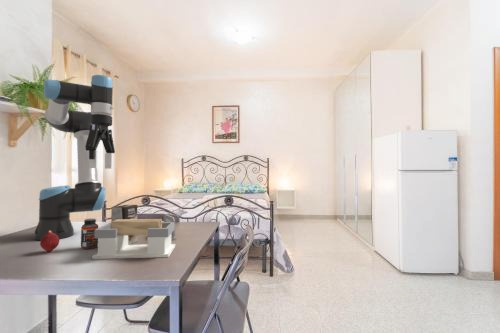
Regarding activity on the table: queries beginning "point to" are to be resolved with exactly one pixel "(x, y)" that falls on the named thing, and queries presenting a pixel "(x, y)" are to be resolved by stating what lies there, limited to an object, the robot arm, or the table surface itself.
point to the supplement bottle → (89, 234)
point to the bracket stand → (119, 248)
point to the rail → (135, 226)
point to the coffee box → (125, 217)
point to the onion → (49, 241)
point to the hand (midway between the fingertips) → (101, 168)
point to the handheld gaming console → (170, 219)
